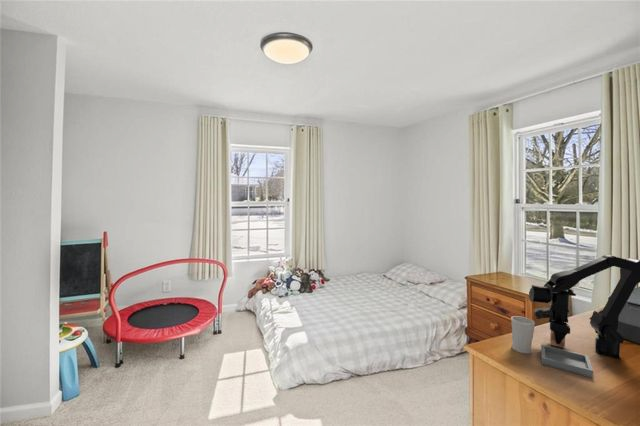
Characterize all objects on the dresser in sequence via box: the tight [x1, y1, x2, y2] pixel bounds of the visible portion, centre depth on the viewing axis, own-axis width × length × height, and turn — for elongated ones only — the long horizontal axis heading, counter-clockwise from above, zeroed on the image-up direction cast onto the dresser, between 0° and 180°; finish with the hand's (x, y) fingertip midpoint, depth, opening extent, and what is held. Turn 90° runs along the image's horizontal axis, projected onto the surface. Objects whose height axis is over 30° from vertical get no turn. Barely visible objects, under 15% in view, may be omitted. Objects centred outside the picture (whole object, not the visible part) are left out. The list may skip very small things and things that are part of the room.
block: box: [549, 330, 566, 349], centre depth 126 cm, size 4×4×5 cm
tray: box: [540, 343, 594, 379], centre depth 112 cm, size 14×13×2 cm
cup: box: [510, 315, 536, 354], centre depth 122 cm, size 8×8×12 cm
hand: (557, 341), depth 126 cm, fingers closed on block, 4 cm apart
